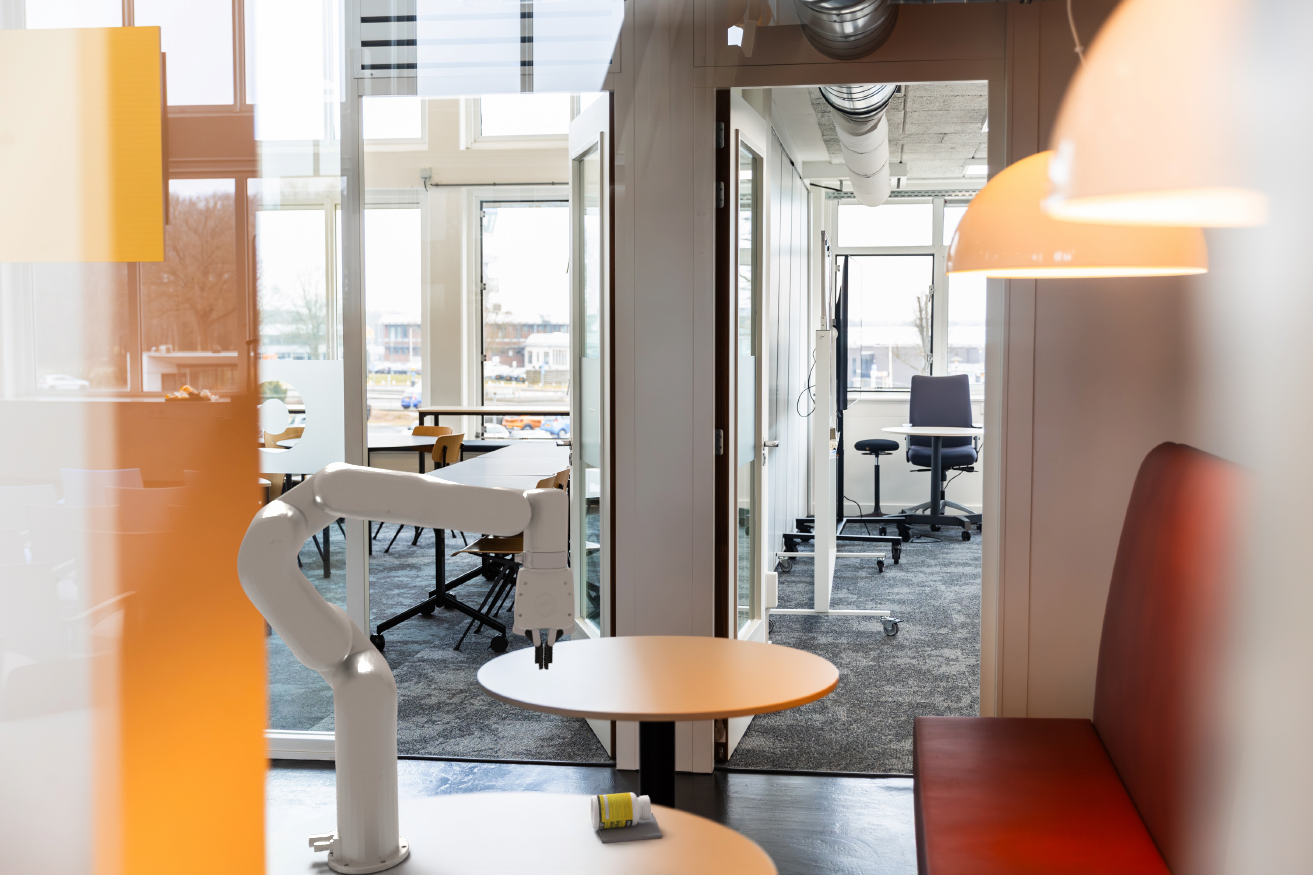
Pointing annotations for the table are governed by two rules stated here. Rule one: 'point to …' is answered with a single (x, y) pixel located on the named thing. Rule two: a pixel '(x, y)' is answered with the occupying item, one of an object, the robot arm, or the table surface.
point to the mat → (632, 831)
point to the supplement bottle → (619, 810)
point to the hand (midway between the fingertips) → (543, 667)
